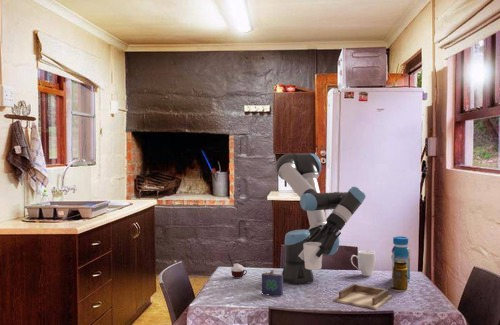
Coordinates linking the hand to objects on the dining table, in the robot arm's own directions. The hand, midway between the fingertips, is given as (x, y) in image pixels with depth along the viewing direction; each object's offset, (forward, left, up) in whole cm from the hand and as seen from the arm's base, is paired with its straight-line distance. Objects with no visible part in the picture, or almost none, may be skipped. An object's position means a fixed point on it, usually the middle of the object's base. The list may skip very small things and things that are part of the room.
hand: (305, 260), depth 186 cm
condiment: (+26, +37, -17) cm, 48 cm away
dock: (+19, +14, -16) cm, 28 cm away
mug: (+4, +50, -17) cm, 53 cm away
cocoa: (-45, +12, -17) cm, 50 cm away
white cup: (+2, +3, -4) cm, 5 cm away
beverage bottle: (+22, +52, -17) cm, 59 cm away
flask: (-15, -2, -17) cm, 23 cm away
